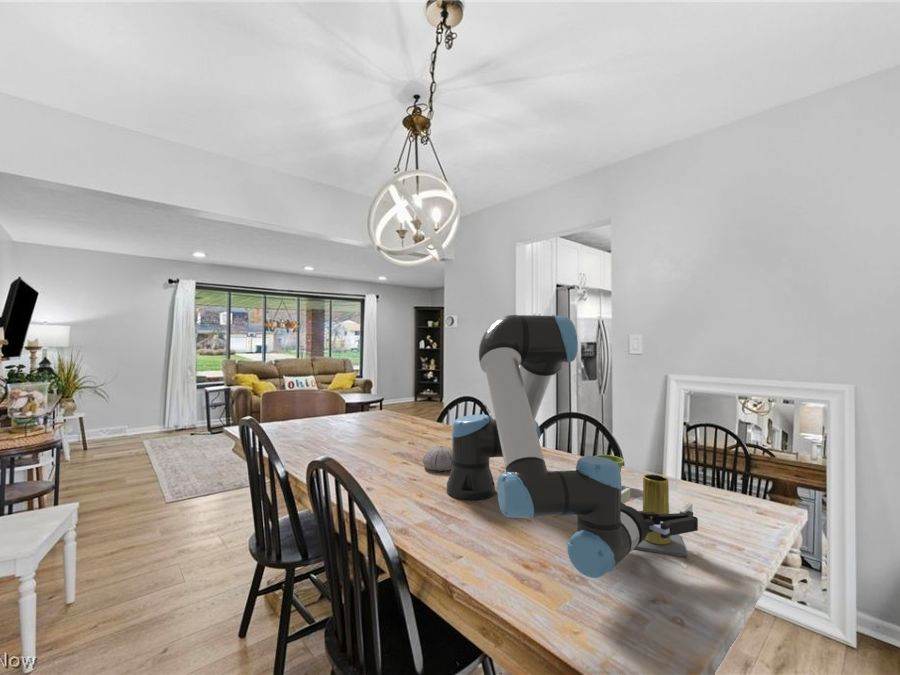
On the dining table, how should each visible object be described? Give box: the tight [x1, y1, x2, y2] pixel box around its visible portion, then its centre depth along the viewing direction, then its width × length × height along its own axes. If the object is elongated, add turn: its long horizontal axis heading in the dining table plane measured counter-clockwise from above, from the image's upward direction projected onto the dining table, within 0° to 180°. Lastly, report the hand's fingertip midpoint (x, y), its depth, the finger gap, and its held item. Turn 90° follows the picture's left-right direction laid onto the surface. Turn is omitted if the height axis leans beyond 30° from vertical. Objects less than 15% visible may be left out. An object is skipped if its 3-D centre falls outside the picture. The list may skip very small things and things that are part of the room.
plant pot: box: [595, 454, 625, 473], centre depth 134 cm, size 9×9×9 cm
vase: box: [642, 473, 671, 545], centre depth 95 cm, size 6×6×14 cm
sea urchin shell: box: [422, 445, 452, 472], centre depth 153 cm, size 13×14×8 cm
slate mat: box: [633, 534, 688, 558], centre depth 95 cm, size 11×11×1 cm
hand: (658, 500), depth 96 cm, fingers open, 13 cm apart
